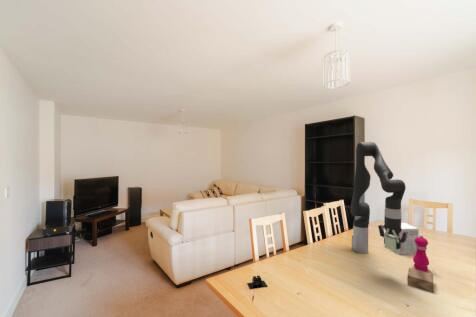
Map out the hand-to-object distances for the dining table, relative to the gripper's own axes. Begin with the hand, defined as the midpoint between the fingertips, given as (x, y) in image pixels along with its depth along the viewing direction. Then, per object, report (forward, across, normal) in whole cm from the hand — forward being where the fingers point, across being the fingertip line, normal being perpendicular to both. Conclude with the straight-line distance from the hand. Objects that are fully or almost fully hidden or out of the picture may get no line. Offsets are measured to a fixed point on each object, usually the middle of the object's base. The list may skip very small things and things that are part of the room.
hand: (392, 246), depth 121 cm
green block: (+1, 0, 0) cm, 1 cm away
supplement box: (+17, -12, +41) cm, 46 cm away
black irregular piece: (+17, -33, -67) cm, 77 cm away
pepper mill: (+17, +5, +23) cm, 29 cm away
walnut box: (+17, +11, +5) cm, 21 cm away
